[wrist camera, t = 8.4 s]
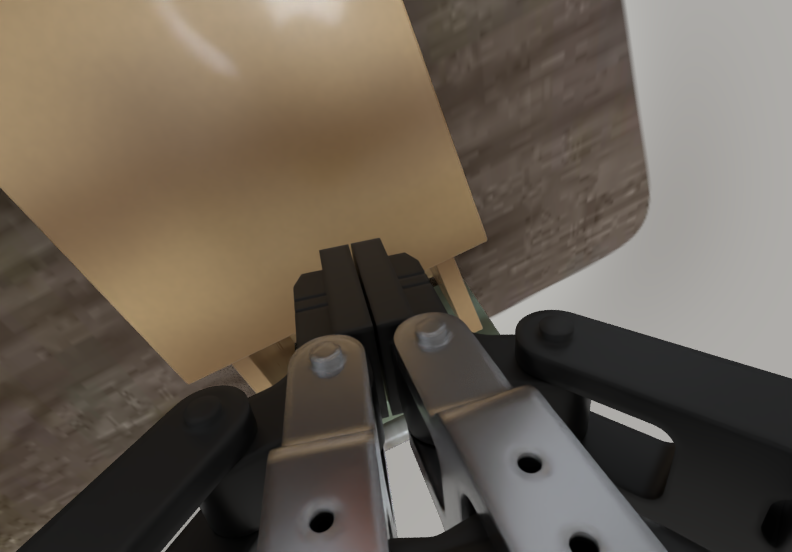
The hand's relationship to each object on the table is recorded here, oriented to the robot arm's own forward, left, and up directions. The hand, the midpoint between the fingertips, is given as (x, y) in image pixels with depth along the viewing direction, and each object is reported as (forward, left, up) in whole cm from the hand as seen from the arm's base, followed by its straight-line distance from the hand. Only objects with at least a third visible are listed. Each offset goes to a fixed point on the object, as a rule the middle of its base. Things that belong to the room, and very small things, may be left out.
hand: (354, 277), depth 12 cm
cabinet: (-2, +2, -13) cm, 14 cm away
